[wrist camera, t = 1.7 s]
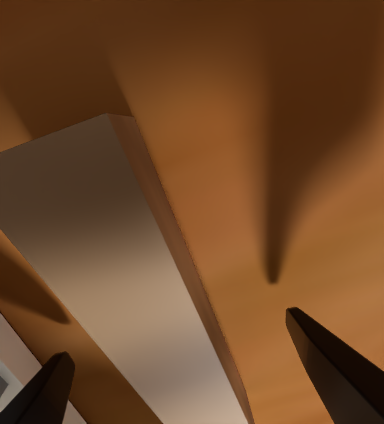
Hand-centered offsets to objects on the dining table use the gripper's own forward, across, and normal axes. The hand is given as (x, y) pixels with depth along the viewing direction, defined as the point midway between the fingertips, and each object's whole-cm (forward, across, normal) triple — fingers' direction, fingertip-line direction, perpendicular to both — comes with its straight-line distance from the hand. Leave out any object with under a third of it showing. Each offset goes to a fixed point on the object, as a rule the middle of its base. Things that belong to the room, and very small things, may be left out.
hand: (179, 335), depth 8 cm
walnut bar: (+1, 0, 0) cm, 1 cm away
